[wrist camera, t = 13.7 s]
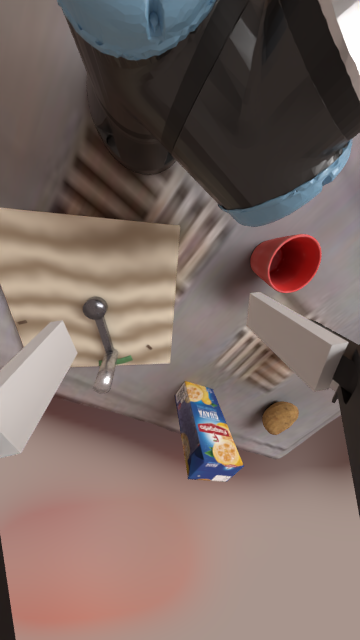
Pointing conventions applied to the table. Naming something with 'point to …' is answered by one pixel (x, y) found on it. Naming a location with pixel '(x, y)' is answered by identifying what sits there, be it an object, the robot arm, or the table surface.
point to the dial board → (91, 281)
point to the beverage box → (205, 435)
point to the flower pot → (287, 262)
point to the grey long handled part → (96, 311)
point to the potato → (279, 417)
